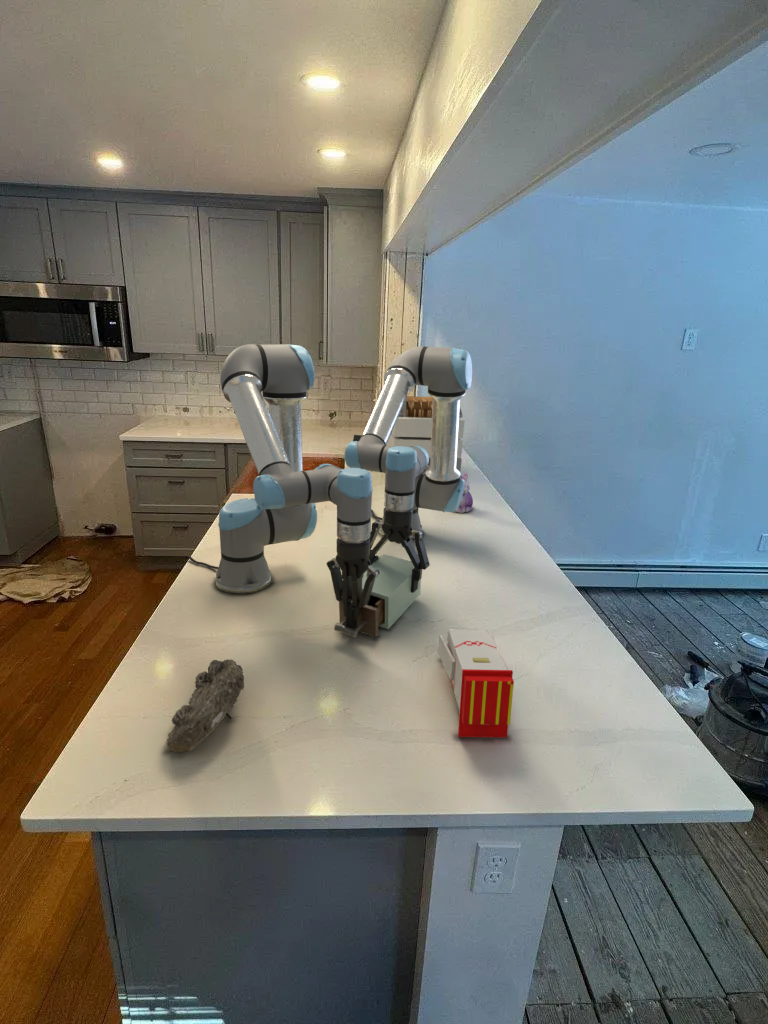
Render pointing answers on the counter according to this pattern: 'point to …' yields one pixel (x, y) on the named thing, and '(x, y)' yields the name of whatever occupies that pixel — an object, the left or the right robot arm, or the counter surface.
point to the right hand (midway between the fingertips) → (393, 584)
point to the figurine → (465, 497)
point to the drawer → (364, 618)
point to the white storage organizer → (420, 426)
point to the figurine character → (357, 437)
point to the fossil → (206, 705)
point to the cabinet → (393, 586)
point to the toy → (478, 682)
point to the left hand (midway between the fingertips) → (351, 628)
